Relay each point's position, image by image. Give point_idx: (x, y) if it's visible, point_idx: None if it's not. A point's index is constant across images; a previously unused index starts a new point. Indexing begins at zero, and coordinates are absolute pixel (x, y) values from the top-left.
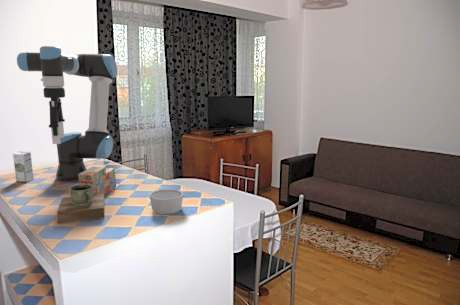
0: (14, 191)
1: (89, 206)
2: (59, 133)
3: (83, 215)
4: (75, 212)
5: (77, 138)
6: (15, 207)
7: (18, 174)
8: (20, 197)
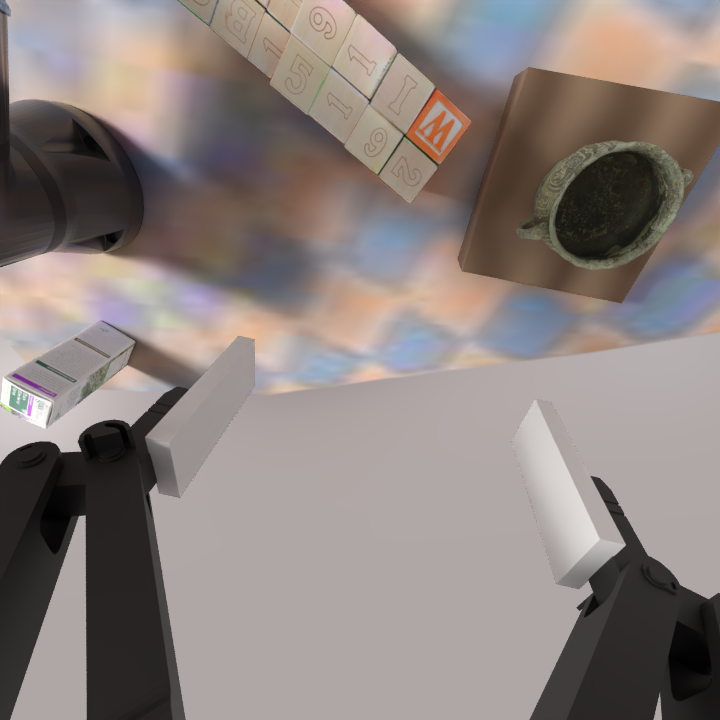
0: None
1: None
2: (584, 473)
3: None
4: None
5: None
6: (375, 378)
7: (112, 372)
8: (289, 363)
